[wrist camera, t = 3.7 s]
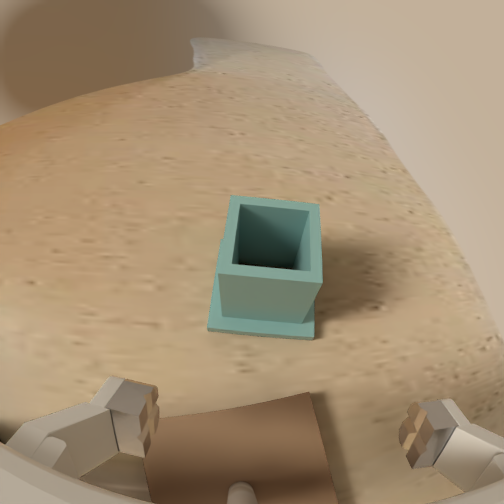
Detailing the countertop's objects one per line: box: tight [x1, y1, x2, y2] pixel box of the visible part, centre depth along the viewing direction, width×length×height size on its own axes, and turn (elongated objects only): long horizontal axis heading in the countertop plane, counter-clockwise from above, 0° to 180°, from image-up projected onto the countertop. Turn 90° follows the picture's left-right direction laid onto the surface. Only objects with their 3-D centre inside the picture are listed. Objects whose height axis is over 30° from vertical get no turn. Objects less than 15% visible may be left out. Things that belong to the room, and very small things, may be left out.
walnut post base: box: [142, 392, 338, 504], centre depth 15 cm, size 12×12×6 cm
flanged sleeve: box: [207, 195, 323, 340], centre depth 23 cm, size 8×8×8 cm
